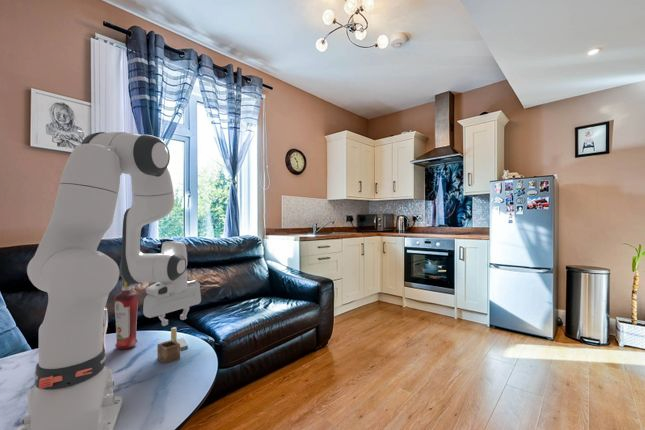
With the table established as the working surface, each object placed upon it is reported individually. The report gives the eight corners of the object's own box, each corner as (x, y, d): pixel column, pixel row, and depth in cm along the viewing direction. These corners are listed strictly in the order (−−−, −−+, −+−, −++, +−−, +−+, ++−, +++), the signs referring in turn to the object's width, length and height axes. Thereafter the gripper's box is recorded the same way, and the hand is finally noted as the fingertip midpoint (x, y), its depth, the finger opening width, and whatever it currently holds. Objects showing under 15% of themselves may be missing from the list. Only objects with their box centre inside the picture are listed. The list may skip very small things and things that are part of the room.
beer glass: (86, 349, 105) (86, 307, 105) (110, 345, 108) (110, 305, 108) (80, 357, 98) (80, 314, 98) (105, 353, 101) (105, 311, 101)
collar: (180, 359, 97) (180, 344, 97) (164, 364, 94) (164, 349, 94) (172, 353, 101) (172, 339, 101) (157, 358, 98) (157, 344, 98)
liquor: (109, 350, 104) (109, 272, 104) (126, 341, 111) (126, 269, 111) (126, 352, 102) (126, 273, 102) (143, 343, 109) (142, 269, 109)
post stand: (187, 348, 105) (188, 329, 105) (163, 354, 101) (163, 334, 101) (183, 340, 112) (183, 322, 112) (159, 346, 107) (159, 327, 107)
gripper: (194, 278, 117) (194, 312, 117) (140, 289, 99) (140, 329, 100) (204, 280, 113) (204, 315, 113) (150, 292, 96) (150, 333, 96)
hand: (174, 322), depth 106 cm, fingers open, 6 cm apart
